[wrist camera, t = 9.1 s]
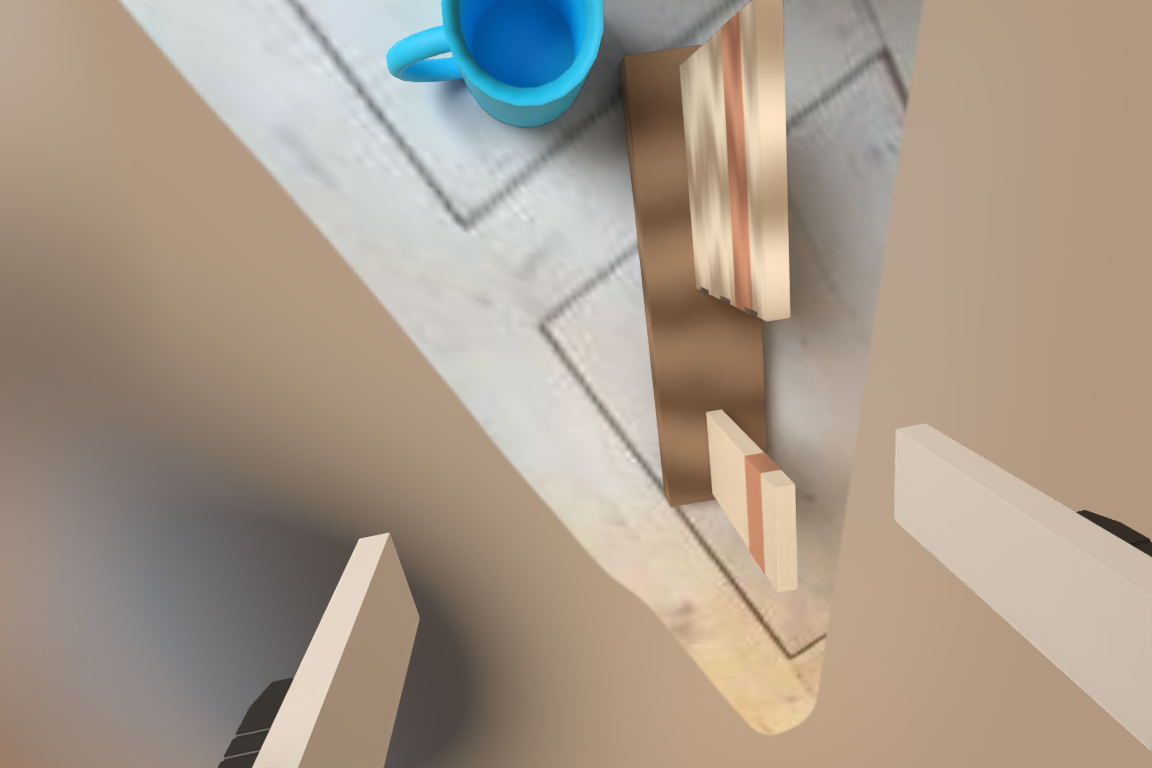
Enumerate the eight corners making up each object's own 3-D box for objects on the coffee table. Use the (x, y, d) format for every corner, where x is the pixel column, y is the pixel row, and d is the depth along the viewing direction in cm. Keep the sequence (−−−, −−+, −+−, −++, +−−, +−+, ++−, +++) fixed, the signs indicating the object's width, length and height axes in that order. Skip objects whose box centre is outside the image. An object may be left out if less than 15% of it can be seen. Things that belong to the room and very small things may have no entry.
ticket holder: (618, 63, 36) (674, -20, 23) (738, 46, 37) (861, -46, 23) (664, 494, 46) (721, 610, 33) (758, 478, 47) (852, 586, 33)
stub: (705, 412, 42) (773, 488, 31) (722, 409, 42) (796, 484, 31) (711, 493, 44) (776, 592, 33) (727, 490, 44) (798, 589, 33)
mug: (573, -28, 35) (588, -96, 27) (597, 114, 37) (616, 90, 29) (383, 9, 34) (342, -49, 27) (420, 150, 37) (392, 134, 29)
